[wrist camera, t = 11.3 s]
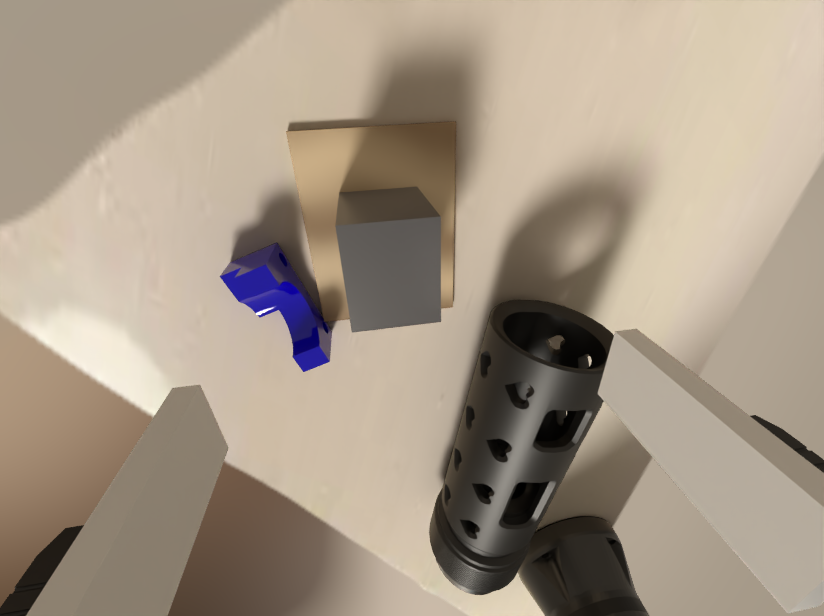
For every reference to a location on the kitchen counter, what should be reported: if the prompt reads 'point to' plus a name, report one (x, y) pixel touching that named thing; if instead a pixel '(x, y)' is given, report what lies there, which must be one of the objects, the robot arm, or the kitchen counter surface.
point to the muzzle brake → (516, 439)
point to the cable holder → (281, 301)
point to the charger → (389, 257)
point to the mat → (370, 170)
